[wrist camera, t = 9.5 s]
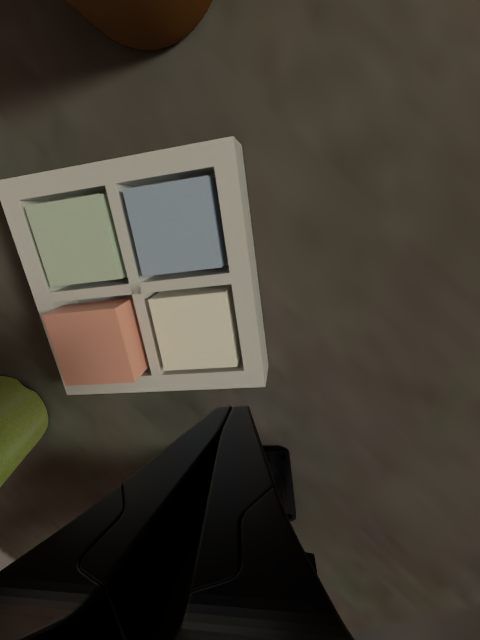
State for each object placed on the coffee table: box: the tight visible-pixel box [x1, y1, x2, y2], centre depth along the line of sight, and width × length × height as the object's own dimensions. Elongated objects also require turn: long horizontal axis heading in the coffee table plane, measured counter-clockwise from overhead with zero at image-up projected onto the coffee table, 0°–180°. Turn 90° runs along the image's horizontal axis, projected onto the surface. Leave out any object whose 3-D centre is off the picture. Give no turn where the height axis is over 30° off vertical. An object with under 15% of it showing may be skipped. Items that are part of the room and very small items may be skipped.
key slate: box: [123, 175, 228, 276], centre depth 18 cm, size 4×4×2 cm
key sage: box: [24, 194, 127, 287], centre depth 19 cm, size 4×4×2 cm
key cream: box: [148, 284, 242, 371], centre depth 19 cm, size 4×4×2 cm
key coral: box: [42, 298, 149, 386], centre depth 19 cm, size 4×4×2 cm
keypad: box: [0, 136, 269, 395], centre depth 19 cm, size 13×13×3 cm
